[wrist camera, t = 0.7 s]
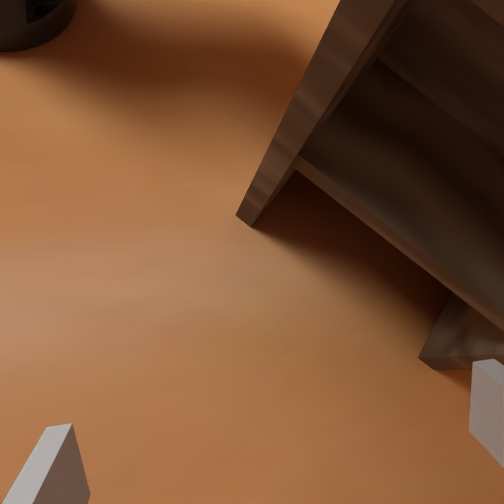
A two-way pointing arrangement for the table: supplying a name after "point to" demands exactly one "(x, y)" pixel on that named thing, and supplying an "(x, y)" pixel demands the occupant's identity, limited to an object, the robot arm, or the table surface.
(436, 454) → the table surface
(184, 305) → the table surface
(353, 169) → the walnut shelf
